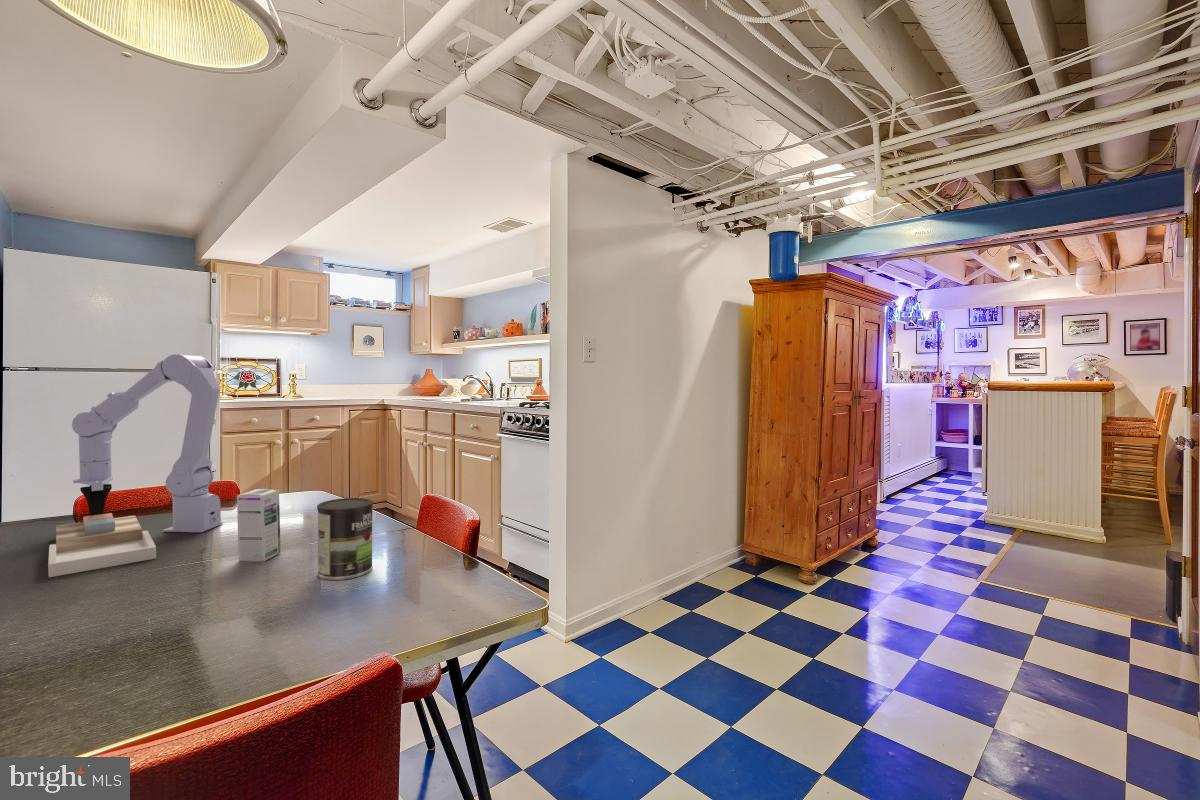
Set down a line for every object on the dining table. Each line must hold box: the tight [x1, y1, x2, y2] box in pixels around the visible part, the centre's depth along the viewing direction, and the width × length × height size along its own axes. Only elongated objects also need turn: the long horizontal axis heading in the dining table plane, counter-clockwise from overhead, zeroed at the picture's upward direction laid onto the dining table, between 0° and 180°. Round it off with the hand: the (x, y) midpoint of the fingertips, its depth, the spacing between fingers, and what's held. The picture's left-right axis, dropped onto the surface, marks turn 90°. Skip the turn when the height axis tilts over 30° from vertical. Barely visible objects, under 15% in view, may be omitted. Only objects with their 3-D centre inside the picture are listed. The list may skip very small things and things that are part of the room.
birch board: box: [55, 515, 143, 553], centre depth 125 cm, size 16×14×3 cm
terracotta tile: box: [82, 512, 114, 525], centre depth 126 cm, size 5×5×2 cm
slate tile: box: [84, 517, 115, 535], centre depth 122 cm, size 5×5×2 cm
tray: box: [47, 530, 157, 578], centre depth 113 cm, size 16×16×2 cm
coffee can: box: [316, 497, 374, 581], centre depth 109 cm, size 10×10×14 cm
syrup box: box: [236, 488, 282, 563], centre depth 115 cm, size 6×6×14 cm
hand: (96, 514), depth 132 cm, fingers closed
